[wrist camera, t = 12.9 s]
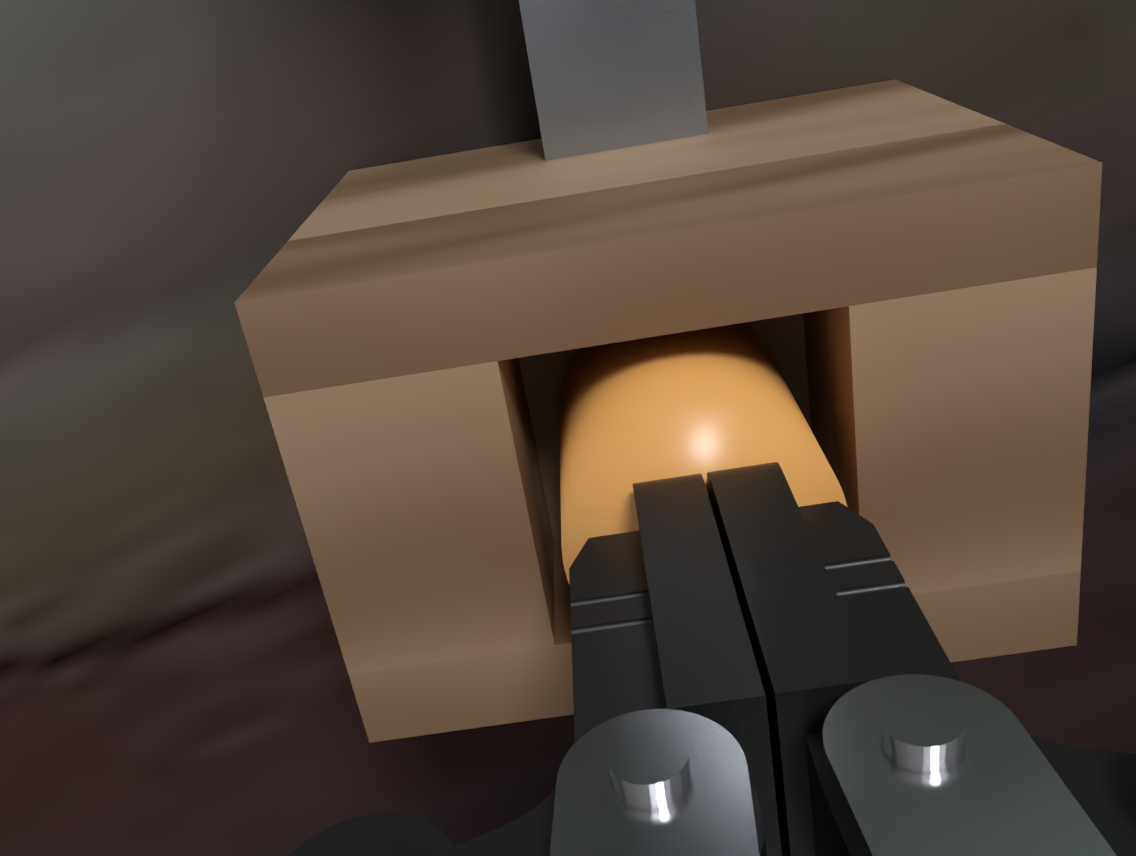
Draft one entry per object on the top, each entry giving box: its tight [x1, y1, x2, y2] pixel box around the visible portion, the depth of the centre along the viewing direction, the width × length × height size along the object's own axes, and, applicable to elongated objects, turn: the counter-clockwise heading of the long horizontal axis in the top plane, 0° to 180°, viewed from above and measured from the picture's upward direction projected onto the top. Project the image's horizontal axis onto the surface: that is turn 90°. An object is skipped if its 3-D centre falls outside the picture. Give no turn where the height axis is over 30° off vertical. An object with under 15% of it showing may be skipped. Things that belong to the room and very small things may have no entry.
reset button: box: [559, 323, 847, 585], centre depth 13 cm, size 3×3×4 cm
